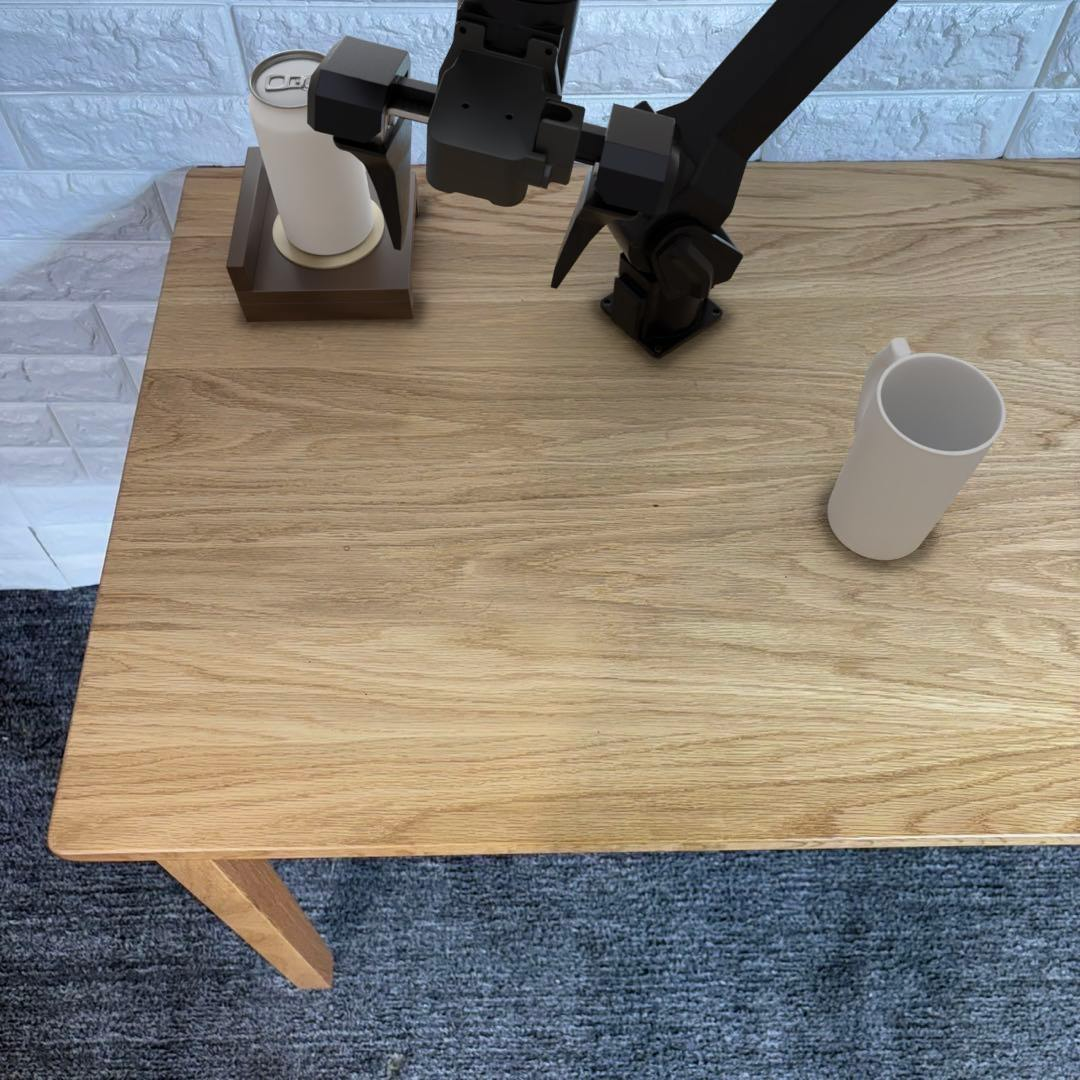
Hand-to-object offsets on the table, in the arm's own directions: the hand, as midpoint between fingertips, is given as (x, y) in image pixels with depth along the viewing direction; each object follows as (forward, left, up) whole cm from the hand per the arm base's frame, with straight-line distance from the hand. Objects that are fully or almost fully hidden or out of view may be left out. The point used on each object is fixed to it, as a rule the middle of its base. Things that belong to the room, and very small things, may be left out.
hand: (477, 265), depth 58 cm
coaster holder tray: (+1, -17, -12) cm, 21 cm away
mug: (-14, +22, -12) cm, 29 cm away
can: (+1, -17, -9) cm, 20 cm away
